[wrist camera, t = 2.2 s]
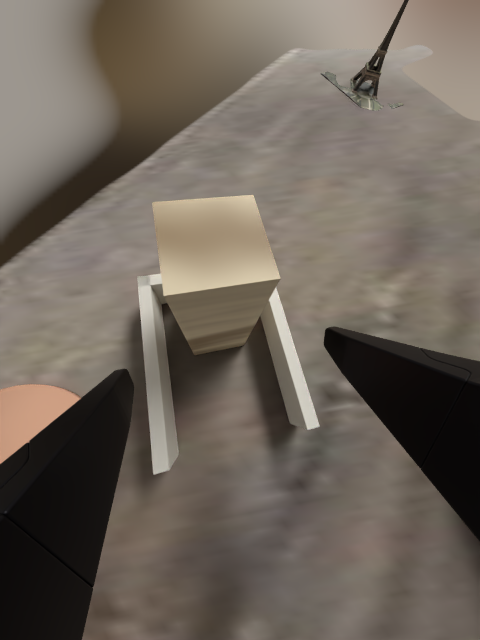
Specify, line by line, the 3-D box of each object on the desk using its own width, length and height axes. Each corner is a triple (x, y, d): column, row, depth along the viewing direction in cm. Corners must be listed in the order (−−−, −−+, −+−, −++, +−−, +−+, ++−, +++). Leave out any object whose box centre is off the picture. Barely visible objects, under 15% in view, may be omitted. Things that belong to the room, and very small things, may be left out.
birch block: (243, 345, 21) (280, 278, 9) (194, 355, 21) (163, 295, 8) (233, 301, 23) (253, 194, 11) (187, 308, 22) (152, 202, 10)
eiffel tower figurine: (317, 76, 43) (360, -55, 30) (351, 68, 46) (403, -55, 33) (369, 119, 39) (440, -9, 27) (402, 108, 42) (480, -13, 30)
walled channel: (299, 420, 20) (319, 426, 16) (166, 458, 17) (153, 474, 14) (259, 280, 24) (267, 259, 20) (150, 297, 22) (137, 276, 18)
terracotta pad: (-93, 682, 12) (-107, 695, 12) (-125, 453, 16) (-138, 455, 15) (138, 509, 16) (135, 513, 16) (73, 354, 19) (69, 353, 19)
